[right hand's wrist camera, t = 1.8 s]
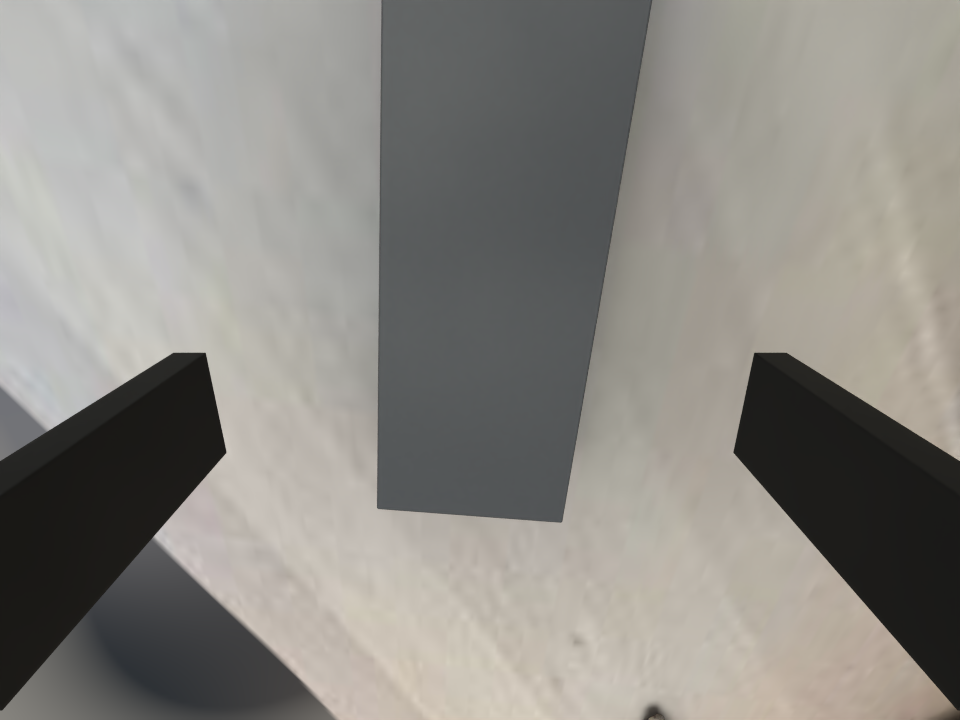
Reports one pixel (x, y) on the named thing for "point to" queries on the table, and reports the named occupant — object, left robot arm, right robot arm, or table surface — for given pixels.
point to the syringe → (656, 717)
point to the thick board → (495, 242)
